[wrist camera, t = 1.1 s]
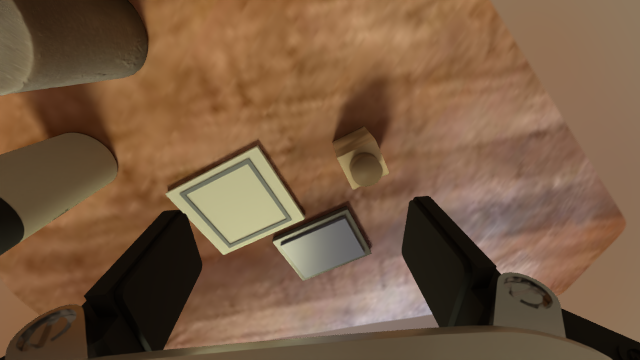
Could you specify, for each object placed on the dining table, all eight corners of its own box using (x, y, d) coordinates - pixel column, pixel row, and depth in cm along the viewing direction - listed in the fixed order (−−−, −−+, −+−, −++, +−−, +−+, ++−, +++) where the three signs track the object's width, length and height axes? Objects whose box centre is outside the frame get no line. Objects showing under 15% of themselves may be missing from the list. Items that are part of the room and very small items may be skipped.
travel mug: (42, 131, 32) (-226, 211, 16) (106, 131, 32) (-90, 209, 16) (70, 185, 35) (-123, 293, 19) (127, 184, 36) (-16, 289, 20)
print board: (258, 144, 34) (256, 147, 33) (304, 216, 40) (304, 219, 39) (168, 191, 37) (164, 194, 36) (224, 251, 43) (223, 255, 42)
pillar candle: (87, -48, 24) (-184, -173, 11) (168, 45, 28) (45, 38, 15) (32, 18, 26) (-250, -18, 13) (114, 96, 30) (-35, 129, 17)
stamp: (364, 126, 34) (380, 145, 27) (376, 155, 36) (394, 180, 29) (332, 142, 34) (339, 164, 27) (346, 170, 37) (355, 197, 30)
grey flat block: (346, 205, 40) (348, 211, 38) (370, 249, 44) (372, 256, 43) (273, 238, 42) (272, 244, 40) (303, 276, 47) (303, 283, 45)
